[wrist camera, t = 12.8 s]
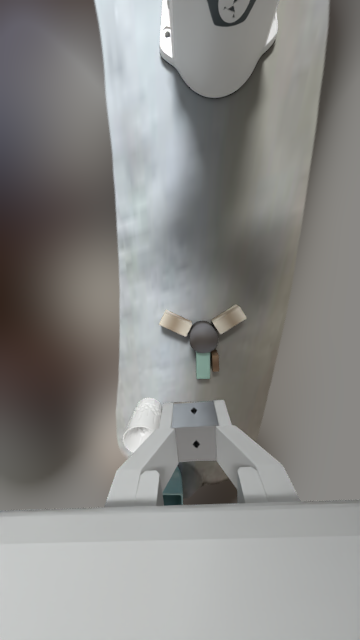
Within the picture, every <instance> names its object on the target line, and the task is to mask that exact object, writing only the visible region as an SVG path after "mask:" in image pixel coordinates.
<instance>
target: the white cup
mask: <svg viewBox="0 0 360 640" xmlns="http://www.w3.org/2000/svg"><path fill="white" fill-rule="evenodd" d="M161 412H162V406H161V404H160V403H159V402H158V401H157V400H156V399H153V398H144V399H142V400H140V401H139V403H138V404H137V406H136V409H135V410H134V412H133V415H132V417H131V419H130V421H129V424H128V426H127V429H126V431H125V433H124V436H123V443H124V446H125V447H126V449H127V450H129V451H130V452H132V453H134V452H135V451H136V450H137V449H138V447H139V446H140V445H141V444H142V443H143V442H144V441H145V440H146V439H147V438H148V437H149V436H150V435H151V434H152V433H153V432H154V430H155V429H159V425H160V419H161Z"/></svg>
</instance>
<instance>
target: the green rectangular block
mask: <svg viewBox="0 0 360 640" xmlns="http://www.w3.org/2000/svg"><path fill="white" fill-rule="evenodd" d="M196 376H197V379H210V352H208V353H199V352H197V351H196Z"/></svg>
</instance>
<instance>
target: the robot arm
mask: <svg viewBox="0 0 360 640" xmlns="http://www.w3.org/2000/svg"><path fill="white" fill-rule="evenodd" d="M278 4H279V0H162V12H161V28H160V54H161V56H162V57H163V59H164V60H166V61H167V62H168V63H170V64H171V65H173V66H174V67H175V68H176V69H177V70H178V72H179V74H180V75H181V77H182V78H183V80H184V81H185V83H186V84H187V85H188V86H189V87H190V88H191V89H192V90H193V91H195V92H196V93H198V94H200V95H202V96H205V97H210V98H219V97H224V96H227V95H229V94H231V93H233V92H235V91H236V90H237V89H239V88H240V87H241V86H242V85H243V84H244V83H245V82H246V81H247V79H248V78H249V77H250V75H251V74H252V72H253V70H254V68H255V66H256V64H257V62H258V60H259V58H260V57H261V55H262V54H263V53H265V52H266V51H267V50H268V49H269V48H270V46H271V45H272V44H273V43H274V41H275V38H276V35H277V32H278V21H277V12H276V10H277V7H278ZM166 37H169V38H168V39H167V38H166ZM197 459H198V460H197ZM189 461H217V462H218V464H219V465H220V466H221V468H222V469H223V471H224V472H225V473H226V475H227V476H228V477H229V479H230V480H231V482H232V483H233V484H234V486H235V487H236V488H237V490H238V503H236V504H203V505H169V506H164V501H163V494H162V493H163V491H164V489H165V487H166V485H167V484H168V482H169V480H170V478H171V476H172V474H173V473H174V471H175V469H176V467H177V465H178V464H179V463H178V462H189ZM0 640H360V500H335V501H334V500H333V501H300V499H299V497H298V495H297V493H296V491H295V489H294V487H293V485H292V483H291V481H290V479H289V477H288V475H287V473H286V471H285V469H284V467H283V465H282V464H281V463H280V462H279V461H277V460H276V459H275V458H274V457H272V456H271V455H270V454H269V453H268V452H267V451H265V450H264V449H263V448H262V447H261V446H259V445H258V444H257V443H256V442H255V441H253V440H252V439H251V438H250V437H249V436H247V435H246V434H245V433H244V432H243V431H241V430H240V429H239V428H238V427H237V426H235V425H232V424H231V421H230V417H229V414H228V411H227V408H226V404H225V401H224V400H213V401H200V402H174V403H163V406H162V412H161V419H160V425H159V429H155V430H154V432H153V433H152V434H151V435H150V436H149V437H148V438H147V439H146V440H145V441H144V442H143V443H142V444H141V445H140V446H139V447H138V449H137V450H136V451H135V452H134V453H133V454H132V455H131V456H130V457H129V458H128V459H127V460H126V461H125V462H124V463H123V465H122V466H121V467H120V468H119V469H118V470H117V472H116V474H115V477H114V480H113V483H112V486H111V489H110V492H109V495H108V498H107V501H106V504H105V507H103V508H72V509H71V508H70V509H41V510H40V509H38V510H7V511H6V510H4V511H0Z"/></svg>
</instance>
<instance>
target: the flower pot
mask: <svg viewBox="0 0 360 640" xmlns="http://www.w3.org/2000/svg"><path fill="white" fill-rule="evenodd" d="M162 494H163V501H164V506H169V505H183V489H182V476H181V472H180V469H179V468H178V466H177V467H176V469H175V471H174V473H173V474H172V476H171V478H170V480H169V482H168V484H167V485H166V487H165V489H164V491H163V493H162Z"/></svg>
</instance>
